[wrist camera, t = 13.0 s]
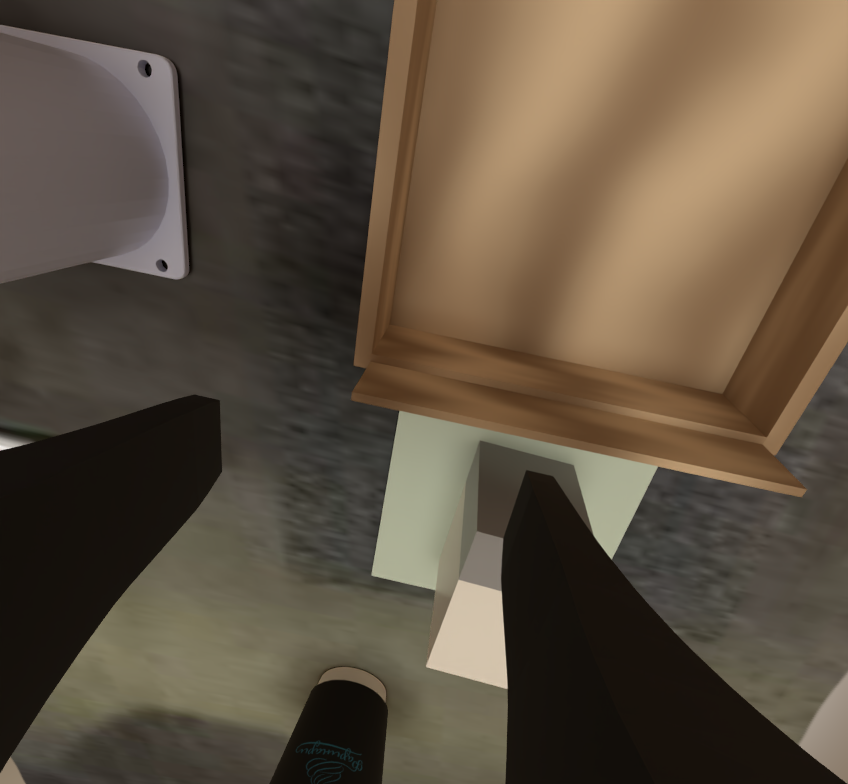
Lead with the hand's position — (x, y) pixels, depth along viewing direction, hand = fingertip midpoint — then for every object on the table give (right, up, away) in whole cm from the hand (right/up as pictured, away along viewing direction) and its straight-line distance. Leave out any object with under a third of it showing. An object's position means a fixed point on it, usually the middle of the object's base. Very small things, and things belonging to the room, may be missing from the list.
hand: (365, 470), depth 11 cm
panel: (+5, -4, +13) cm, 15 cm away
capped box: (+5, -4, +13) cm, 14 cm away
